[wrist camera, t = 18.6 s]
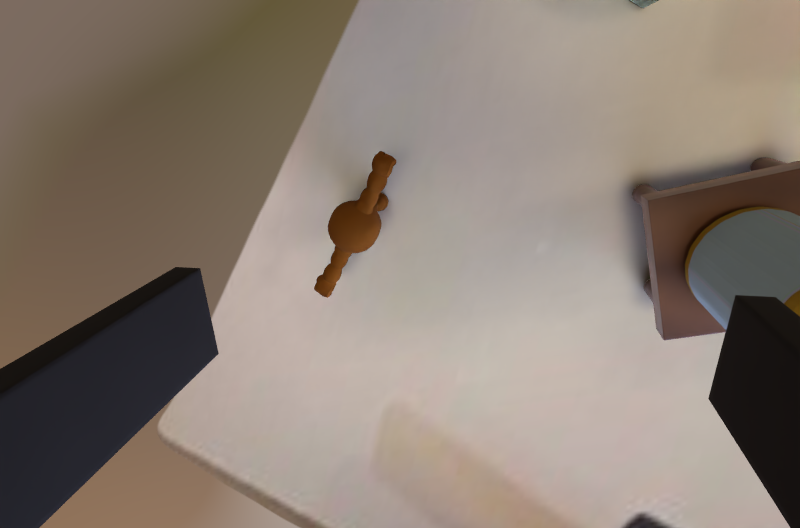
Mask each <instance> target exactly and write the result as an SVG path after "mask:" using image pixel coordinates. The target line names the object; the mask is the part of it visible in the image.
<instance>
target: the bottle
mask: <svg viewBox="0 0 800 528" xmlns="http://www.w3.org/2000/svg"><path fill="white" fill-rule="evenodd" d="M685 277H686V281H687V284H688V286H689V288H690V290H691V292H692V293H693V295H694V296H695V297H696V299H697V300H698V301H699V302H700V303H701V304H702V305H703V306H704V307H705V308H706V309H707V310H708V312H709V313H710V314H711V315H712V316H713V317H714V318H715V319H716V320H717V321H718V322H719V323H720V324H721V325H722V326H723V328H724V329H725V330H726V329H727V326H728V322H729V318H730V314H731V310H732V306H733V302H734V299H735V295H745V296H765V297H776V298H778V299H779V300H780V301H781V302H782V303H784V304H785V305H786V306H787V307H789V308H790V309H791V310H792V311H794V312H795V313H796V314H797V315H798V316H800V216H798V215H796V214H794V213H791V212H788V211H785V210H783V209H779V208H771V207H753V208H747V209H741V210H737V211H735V212H732V213H730V214H728V215H725V216H723V217H721V218H719V219H717V220H716V221H715V222H713V223H712V224H711V225H709V226H708V227H707V228H706V229H704V230H703V231H702V232H701V233H700V235H699V236H698V237H697V239H696V240H695V241H694V243H693V244H692V246H691V247H690V250H689V253H688V256H687V259H686V262H685Z"/></svg>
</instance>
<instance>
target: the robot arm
mask: <svg viewBox="0 0 800 528" xmlns="http://www.w3.org/2000/svg"><path fill="white" fill-rule="evenodd" d="M217 355H218V349H217V345H216V340H215V335H214V331H213V326H212V321H211V317H210V312H209V308H208V303H207V298H206V294H205V289H204V285H203V280H202V275H201V271H200V268H182V267H175V268H173V269H172V270H170V271H168V272H167V273H165V274H163V275H162V276H160V277H158V278H157V279H155V280H153V281H151V282H149V283H148V284H146V285H144V286H143V287H141V288H139V289H138V290H136V291H134V292H132V293H130V294H129V295H127V296H125V297H124V298H122V299H120V300H118V301H117V302H115V303H113V304H111V305H110V306H108V307H106V308H105V309H103V310H101V311H99V312H98V313H96V314H95V315H93V316H91V317H89V318H87V319H86V320H84V321H82V322H81V323H79V324H77V325H75V326H74V327H72V328H70V329H68V330H67V331H65V332H63V333H62V334H60V335H58V336H56V337H55V338H53V339H51V340H50V341H48V342H46V343H44V344H43V345H41V346H39V347H38V348H36V349H34V350H32V351H31V352H29V353H27V354H25V355H24V356H22V357H20V358H19V359H17V360H15V361H14V362H12V363H10V364H8V365H6V366H5V367H3V368H1V369H0V528H39V527H40V526H41V525H42V524H43V523H45V522H46V520H48V519H49V518H50V517H51V516H52V515H53V514H54V513H55V512H56V511H57V510H58V509H59V508H60V507H61V506H62V505H63V504H64V503H65V502H66V501H67V500H68V499H69V498H70V497H71V496H72V495H73V494H74V493H75V492H76V491H77V490H79V488H80V487H82V486H83V485H84V484H85V483H86V482H87V481H88V480H89V479H90V478H91V477H92V476H93V475H94V474H95V473H96V472H97V471H98V470H99V469H100V468H101V467H102V466H103V465H104V464H105V463H106V462H107V461H108V460H109V459H110V458H112V457H113V456H114V455H115V453H117V452H118V450H119V449H121V448H122V447H123V446H124V445H125V444H126V443H127V442H128V441H129V440H130V439H131V438H132V437H133V436H134V435H135V434H136V433H137V432H138V431H139V430H140V429H141V428H142V427H143V426H144V425H145V424H146V423H148V422H149V420H150V419H152V418H153V417H154V416H155V415H156V414H157V413H158V412H159V411H160V410H161V409H162V408H163V407H164V406H165V405H166V404H167V403H168V402H169V401H170V400H171V399H172V398H173V397H174V396H175V395H176V394H177V393H178V392H179V391H181V390H182V389H183V388H184V387H185V386H186V385H187V384H188V383H189V382H190V381H191V380H192V379H193V378H194V377H195V376H196V375H197V374H198V373H199V372H200V371H201V370H202V369H203V368H204V367H205V366H206V365H207V364H208V363H209V362H210V361H211V360H212V359H213V358H215V357H216V356H217ZM709 400H710V402H711V403H712V405H713V406H714V408H715V410H716V411H717V413H718V414H719V416H720V417H721V419H722V421H723V422H724V424H725V425H726V427H727V428H728V430H729V432H730V433H731V435H732V436H733V438H734V439H735V441H736V443H737V444H738V446H739V447H740V449H741V451H742V452H743V454H744V455H745V457H746V458H747V460H748V462H749V463H750V465H751V466H752V468H753V469H754V471H755V473H756V474H757V476H758V477H759V479H760V480H761V482H762V484H763V485H764V487H765V488H766V490H767V491H768V493H769V495H770V496H771V498H772V499H773V501H774V502H775V504H776V506H777V507H778V509H779V510H780V512H781V513H782V515H783V517H784V518H785V520H786V521H787V523H788V524H789V526H790V528H800V316H798V315H797V314H796V313H795V312H794V311H792V310H791V309H790V308H789V307H787V306H786V305H785V304H784V303H782V302H781V301H780V300H779V299H778V298H776V297H765V296H745V295H735V299H734V302H733V306H732V310H731V314H730V318H729V322H728V326H727V329H726V333H725V337H724V341H723V345H722V349H721V353H720V356H719V360H718V364H717V368H716V372H715V376H714V379H713V383H712V387H711V391H710V395H709Z"/></svg>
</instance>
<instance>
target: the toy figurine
mask: <svg viewBox="0 0 800 528" xmlns="http://www.w3.org/2000/svg"><path fill="white" fill-rule="evenodd" d="M395 164H396V159H395V158H394V157H392V156H390V155H388V154H385V153H384V152H382V151H380V152H379V153H378V154H376V155H375V157H374V158H373V161H372V169H373V171H372V172H371V173H370V175H369V177H368V180H367V188H365V189H364V190H363V192H362V193H361V195H360V198H359V200H357V201H348V202H345V203H342V204H341V205H339V206H338V207H337V208H336V209H335V210H334V212H333V213H332V215H331V218H330V220H329V224H328V232H329V235H330V238H331V240H332V241H333V243H334V244H335V245H336V246H335V251H334V253H333V254H332V257H331V263H330V264H329V265H328V266H327V267H326V268H325V270H324V273H323V275H320V276H319V277H318V278H317V283H316V285H315V287H314V289H315V291H317V292H318V293H319V294H321V295H322V296H324V297H329V296H330V295H331V294H332V291H333V290H334V287H335V285H336V282H337V281H338V280H339V279H340V277H341V273H342V268H343V267H344V266H345V265H346V263H347V261H348V257H350V256H351V254H352V253H359V252H362V251H365V250H367V249H368V248H370V247H371V246H372V245H373V244H374V242H375V241H376V239H377V237H378V235H379V232H380V229H381V220H380V216H379V214H378V212H377V211H381V210H384V209H385V208H386V207H387V205H388V199H387V196H386V195H385V194H383V193H381V191H382V190H383V189H384V187H385V186H386V183H387V178H388V177H389V176H390V174H391V172H392V168H393V166H394V165H395Z"/></svg>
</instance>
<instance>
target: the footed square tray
mask: <svg viewBox="0 0 800 528" xmlns="http://www.w3.org/2000/svg"><path fill="white" fill-rule="evenodd" d="M750 170H751V171H750V172H745V173H740V174H736V175H731V176H726V177H722V178H717V179H713V180H708V181H703V182H699V183H694V184H689V185H685V186H680V187H675V188H671V189H666V190H661V191H657V190H655V189H654V188H652V187H651V186H649V185H647V184H641V185H639V186H637V187H636V188H635V189H634V190H633V193H632V196H633V199H634V200H635V201H636V202H637V203H638V204H640V205H641V206H642V211H643V220H644V228H645V237H646V245H647V253H648V262H649V270H650V279H649V280H648V281H646V283H645V284H644V290H645V292H646V293H647V295H648V296H649V297H650V299H651V300H652V301H653V304H654V313H655V321H656V329H657V330H658V332H659V333H660V335H661V336H662V338H663V340H670V339H678V338H685V337H692V336H700V335H707V334H715V333H722V332H726V330H725V329H724V328H723V326H722V325H721V324H720V323H719V322H718V321H717V320H716V319H715V318H714V317H713V316H712V315H711V314H710V313H709V312H708V310H707V309H706V308H705V307H704V306H703V305H702V304H701V303H700V302H699V301H698V300H697V299H696V297H695V296H694V295H693V293H692V292H691V290H690V288H689V286H688V284H687V281H686V277H685V262H686V259H687V256H688V253H689V250H690V247H691V246H692V244H693V243H694V241H695V240H696V239H697V237H698V236H699V235H700V233H701V232H702V231H703V230H704V229H706V228H707V227H708V226H709V225H711V224H712V223H713V222H715V221H716V220H717V219H719V218H721V217H723V216H725V215H728V214H730V213H732V212H735V211H737V210H741V209H747V208H753V207H771V208H779V209H783V210H785V211H788V212H791V213H794V214H796V215H798V216H800V161H796V162H791V163H785V162H781V161H778V160H774V159H770V158H766V157H764V158H759V159H757V160H756V161H755V162H754V163H753V164H752V166H751V169H750Z"/></svg>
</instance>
